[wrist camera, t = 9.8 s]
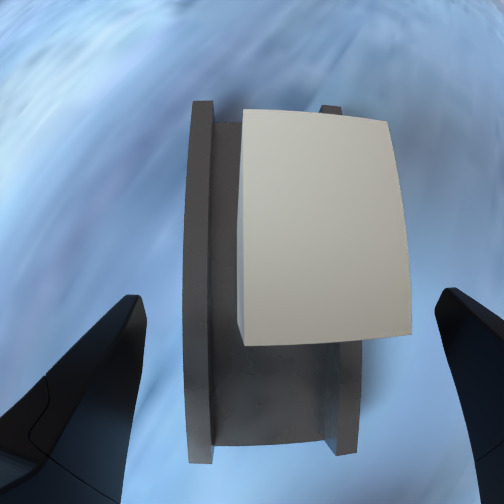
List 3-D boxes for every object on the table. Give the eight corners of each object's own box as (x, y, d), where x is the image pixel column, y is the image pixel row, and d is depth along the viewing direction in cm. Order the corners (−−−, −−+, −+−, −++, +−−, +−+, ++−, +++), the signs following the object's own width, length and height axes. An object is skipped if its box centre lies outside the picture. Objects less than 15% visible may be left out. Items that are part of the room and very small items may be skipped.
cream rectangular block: (299, 321, 18) (411, 334, 6) (237, 322, 18) (244, 346, 6) (297, 234, 19) (387, 121, 7) (236, 233, 18) (243, 109, 7)
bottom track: (339, 434, 17) (356, 452, 14) (195, 441, 17) (188, 463, 14) (327, 131, 21) (340, 106, 18) (197, 127, 20) (192, 101, 17)
